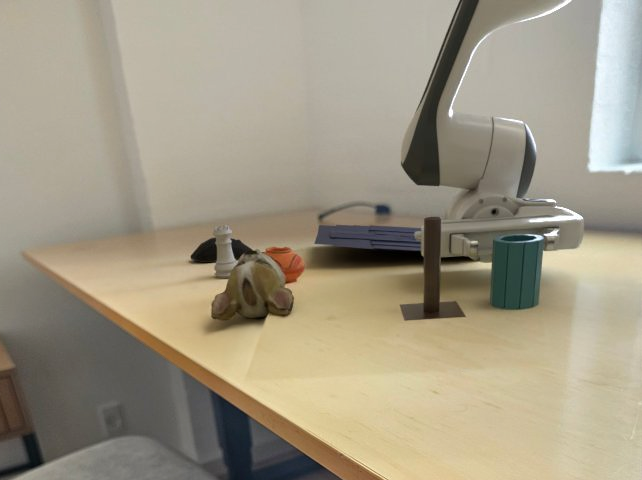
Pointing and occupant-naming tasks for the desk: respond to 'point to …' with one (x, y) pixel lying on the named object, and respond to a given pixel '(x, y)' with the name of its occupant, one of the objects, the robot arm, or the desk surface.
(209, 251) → the gaming mouse
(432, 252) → the stand
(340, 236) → the papers
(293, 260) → the pot
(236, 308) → the ceramic sculpture
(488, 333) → the desk surface
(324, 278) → the desk surface
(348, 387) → the desk surface
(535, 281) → the teal grooved cylinder
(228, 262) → the rook chess piece
